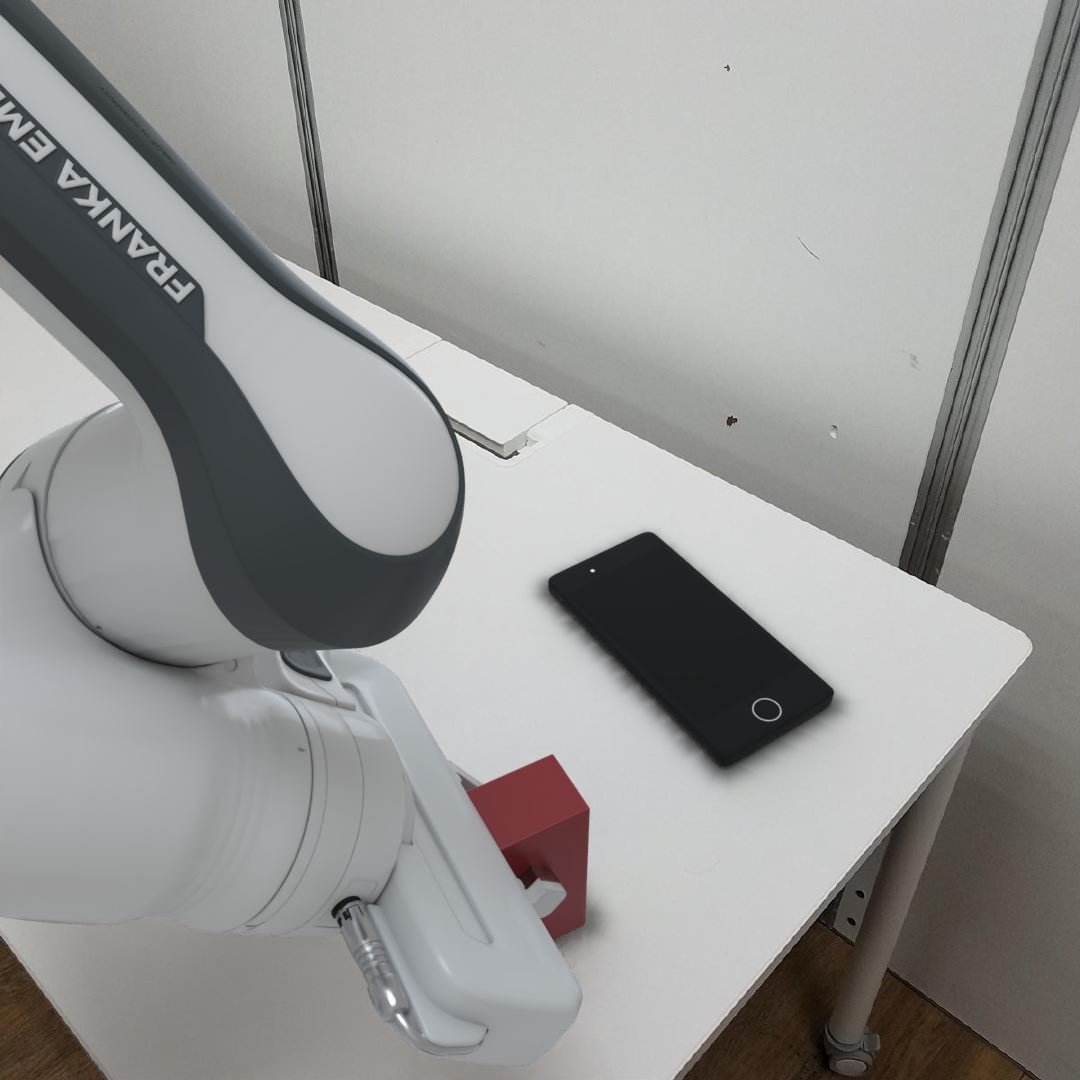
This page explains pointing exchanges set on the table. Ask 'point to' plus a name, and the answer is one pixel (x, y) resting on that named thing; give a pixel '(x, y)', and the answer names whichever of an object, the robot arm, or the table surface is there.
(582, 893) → the upright red rectangular block
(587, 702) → the table surface
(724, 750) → the cell phone
